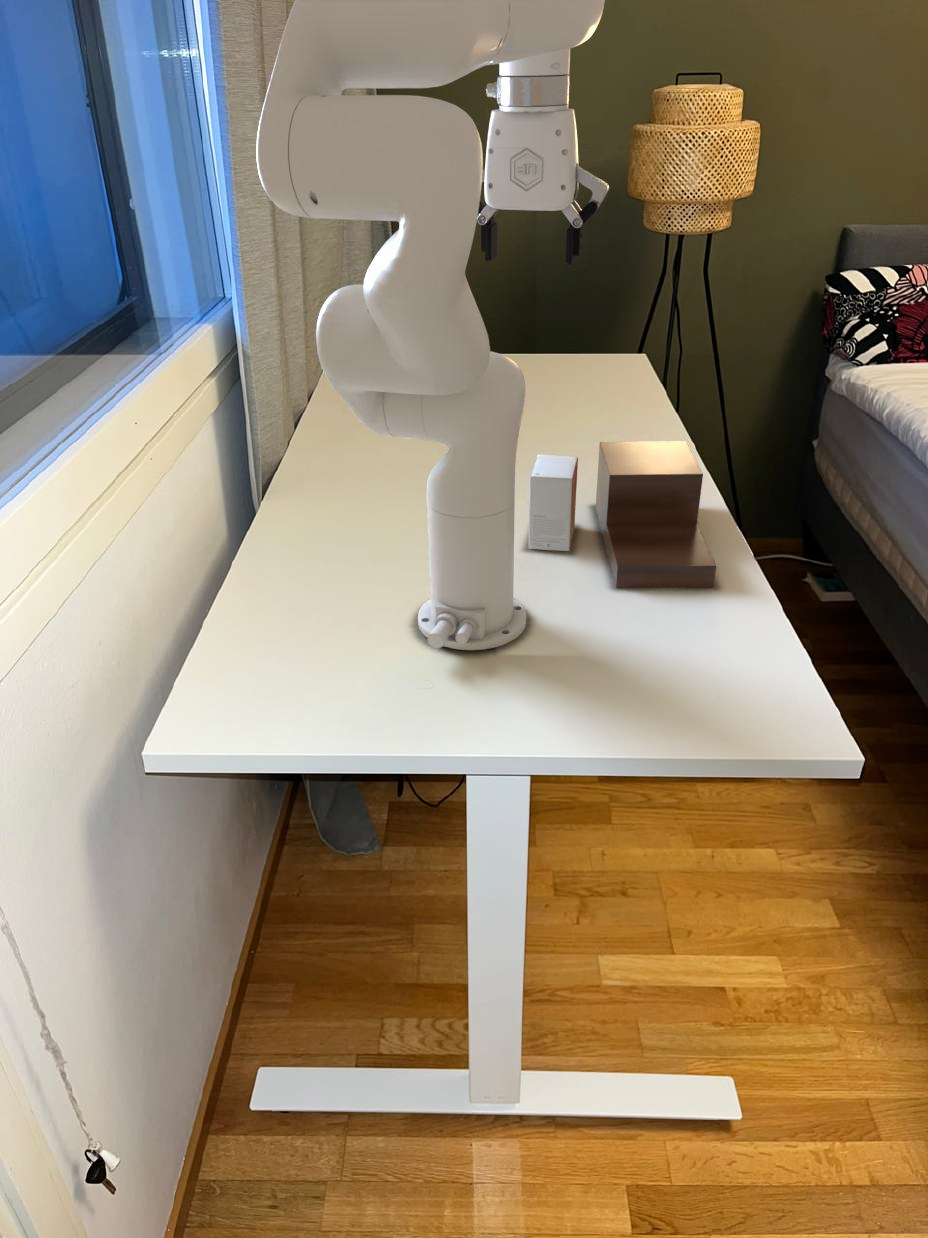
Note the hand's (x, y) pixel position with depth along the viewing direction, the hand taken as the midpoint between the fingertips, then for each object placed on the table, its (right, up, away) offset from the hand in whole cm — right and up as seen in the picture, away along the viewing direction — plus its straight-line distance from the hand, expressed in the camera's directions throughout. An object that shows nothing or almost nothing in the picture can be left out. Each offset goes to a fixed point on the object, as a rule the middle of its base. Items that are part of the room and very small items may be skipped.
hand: (530, 260), depth 112 cm
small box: (+4, -31, +18) cm, 36 cm away
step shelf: (+17, -32, +16) cm, 40 cm away
